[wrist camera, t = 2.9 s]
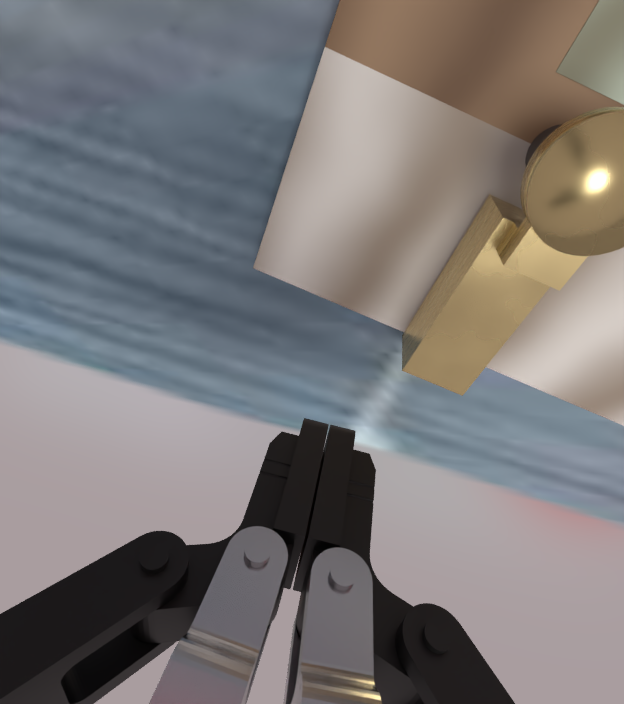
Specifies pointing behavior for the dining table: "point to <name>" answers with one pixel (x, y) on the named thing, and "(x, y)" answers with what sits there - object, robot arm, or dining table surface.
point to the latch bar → (522, 250)
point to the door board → (450, 168)
